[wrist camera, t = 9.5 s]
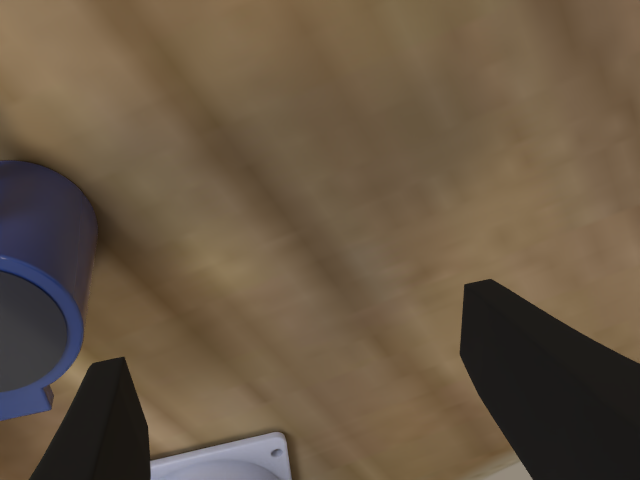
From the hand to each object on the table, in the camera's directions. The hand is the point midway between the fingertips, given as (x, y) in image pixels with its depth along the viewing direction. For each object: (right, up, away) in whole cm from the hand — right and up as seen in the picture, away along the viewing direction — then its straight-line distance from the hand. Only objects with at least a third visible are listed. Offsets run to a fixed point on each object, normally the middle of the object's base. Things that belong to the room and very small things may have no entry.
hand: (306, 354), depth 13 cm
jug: (-9, +3, +7) cm, 12 cm away
